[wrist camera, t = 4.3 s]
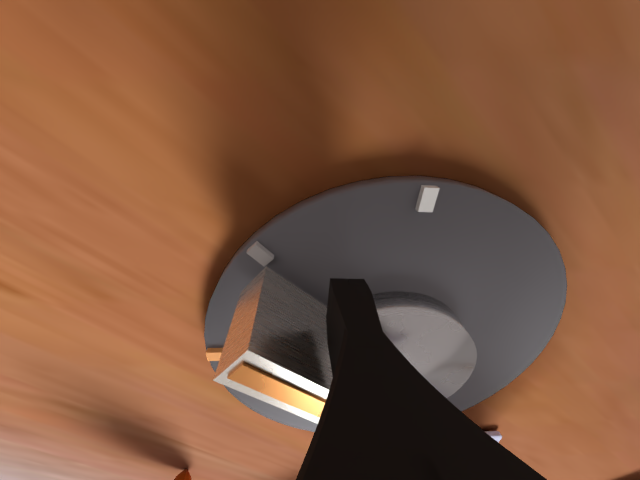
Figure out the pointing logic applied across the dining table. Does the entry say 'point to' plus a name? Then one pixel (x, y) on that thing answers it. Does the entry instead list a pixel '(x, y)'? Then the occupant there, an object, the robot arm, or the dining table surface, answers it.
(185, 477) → the carrot
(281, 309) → the grey bar on dome
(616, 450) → the dining table surface
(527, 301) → the dial plate
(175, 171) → the dining table surface
